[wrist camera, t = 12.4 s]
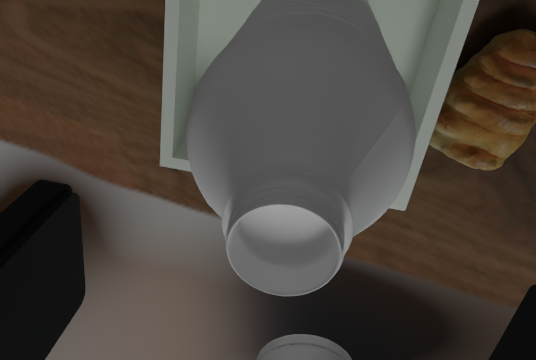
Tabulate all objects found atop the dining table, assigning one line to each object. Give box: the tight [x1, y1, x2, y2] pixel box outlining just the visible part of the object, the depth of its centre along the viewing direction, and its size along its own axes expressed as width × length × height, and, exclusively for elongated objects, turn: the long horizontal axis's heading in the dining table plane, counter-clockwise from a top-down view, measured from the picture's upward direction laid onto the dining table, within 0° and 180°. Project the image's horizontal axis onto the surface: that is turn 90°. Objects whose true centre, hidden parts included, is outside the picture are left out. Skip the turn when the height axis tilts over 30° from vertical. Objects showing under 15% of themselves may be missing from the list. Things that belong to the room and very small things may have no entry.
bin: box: [160, 0, 479, 211], centre depth 29 cm, size 17×19×6 cm
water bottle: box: [186, 0, 415, 360], centre depth 20 cm, size 9×6×25 cm
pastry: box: [429, 29, 536, 170], centre depth 31 cm, size 9×7×4 cm
